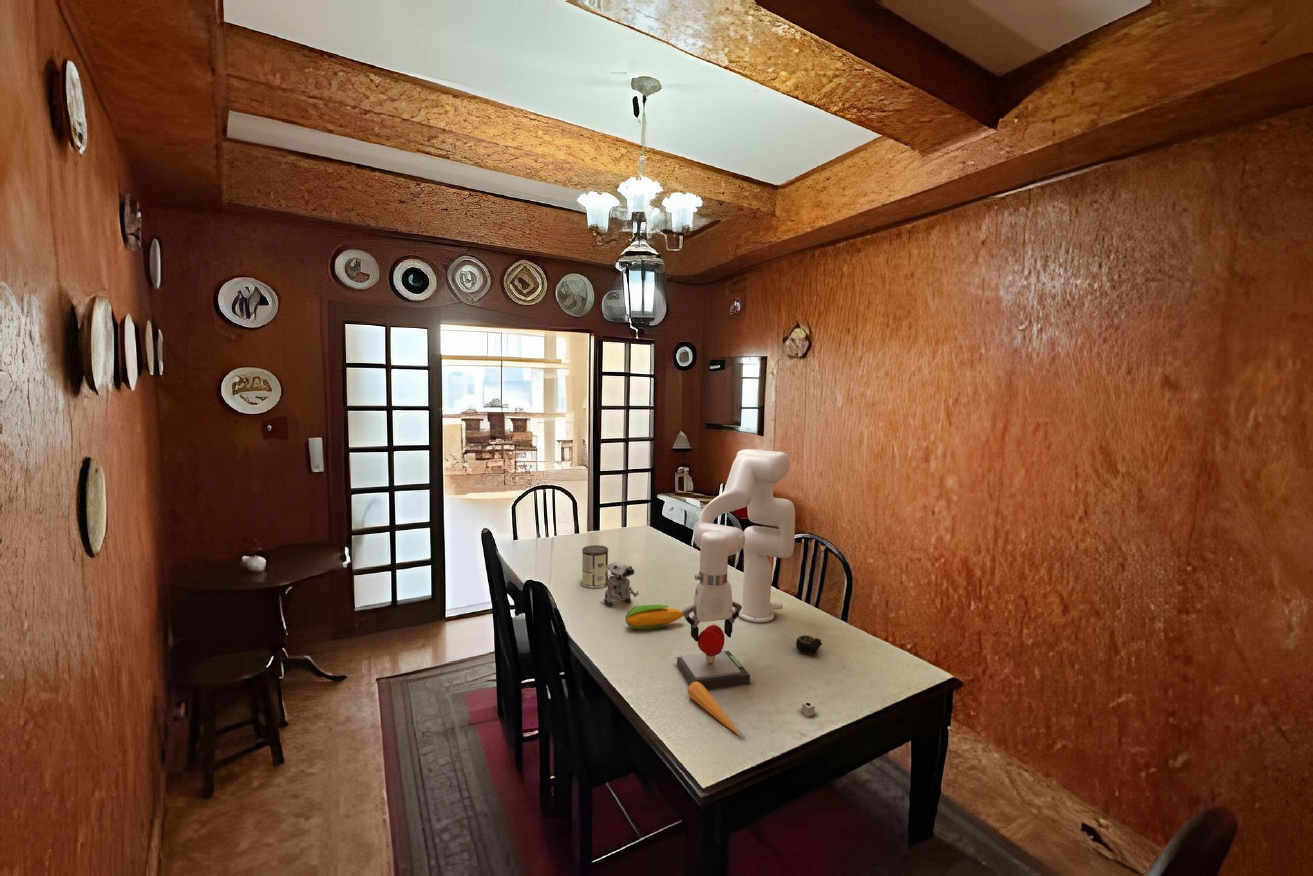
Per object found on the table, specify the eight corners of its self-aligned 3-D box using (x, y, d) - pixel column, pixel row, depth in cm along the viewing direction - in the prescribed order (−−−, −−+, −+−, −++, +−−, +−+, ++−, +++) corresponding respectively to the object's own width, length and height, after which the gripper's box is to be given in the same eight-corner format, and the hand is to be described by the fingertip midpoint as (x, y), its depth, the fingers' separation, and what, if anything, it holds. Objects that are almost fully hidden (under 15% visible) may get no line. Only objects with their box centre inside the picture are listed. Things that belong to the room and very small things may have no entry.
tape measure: (814, 659, 165) (815, 647, 164) (792, 652, 168) (793, 640, 168) (821, 650, 170) (822, 638, 170) (799, 643, 174) (800, 632, 174)
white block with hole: (801, 712, 138) (802, 702, 138) (808, 710, 139) (808, 700, 139) (807, 716, 136) (808, 707, 136) (814, 714, 137) (814, 704, 137)
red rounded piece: (714, 674, 148) (715, 638, 147) (691, 666, 152) (692, 631, 151) (728, 659, 156) (730, 625, 155) (706, 653, 160) (707, 619, 159)
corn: (623, 602, 184) (680, 597, 189) (622, 623, 185) (679, 618, 190) (628, 613, 176) (687, 607, 182) (627, 635, 178) (686, 628, 183)
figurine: (615, 613, 194) (616, 571, 192) (602, 601, 204) (602, 561, 202) (638, 608, 198) (639, 567, 197) (624, 597, 208) (625, 558, 207)
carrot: (687, 698, 144) (683, 685, 142) (701, 688, 145) (697, 675, 144) (735, 750, 127) (731, 736, 125) (750, 738, 129) (747, 724, 127)
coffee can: (592, 577, 228) (593, 543, 227) (613, 582, 223) (613, 548, 222) (576, 584, 220) (576, 549, 218) (596, 590, 214) (597, 554, 213)
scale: (728, 658, 164) (728, 648, 163) (749, 683, 150) (750, 672, 150) (677, 665, 159) (677, 654, 159) (694, 691, 146) (694, 679, 145)
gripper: (688, 585, 146) (686, 647, 147) (748, 579, 151) (746, 639, 152) (678, 575, 153) (677, 634, 155) (736, 570, 158) (734, 627, 160)
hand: (711, 637), depth 154 cm, fingers open, 9 cm apart
